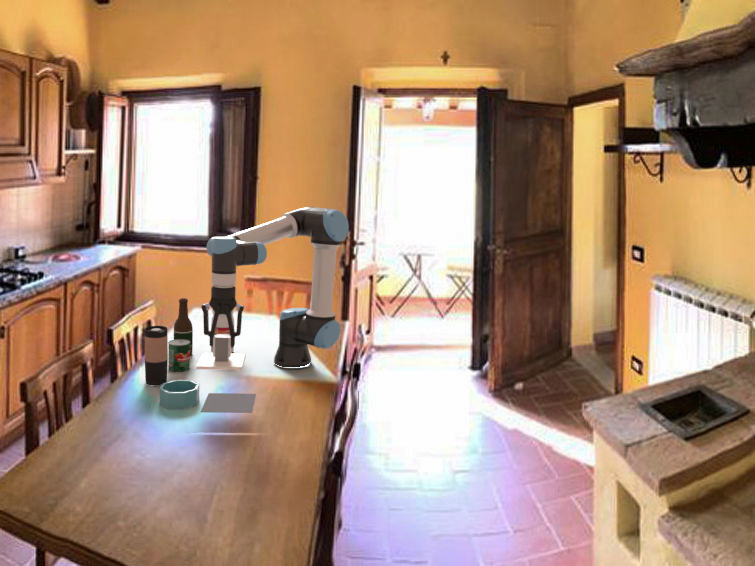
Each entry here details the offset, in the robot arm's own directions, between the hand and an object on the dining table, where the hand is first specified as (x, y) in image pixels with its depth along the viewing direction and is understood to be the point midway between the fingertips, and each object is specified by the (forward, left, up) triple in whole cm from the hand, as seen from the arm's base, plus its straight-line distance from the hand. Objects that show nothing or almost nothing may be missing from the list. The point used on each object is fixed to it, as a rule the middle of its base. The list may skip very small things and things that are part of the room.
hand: (222, 355), depth 184 cm
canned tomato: (+20, -33, -17) cm, 42 cm away
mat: (-3, 0, -17) cm, 17 cm away
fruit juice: (+7, -56, -17) cm, 59 cm away
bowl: (+13, 0, -17) cm, 21 cm away
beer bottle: (+22, -50, -17) cm, 57 cm away
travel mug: (+25, -19, -17) cm, 36 cm away
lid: (0, 0, -2) cm, 2 cm away
